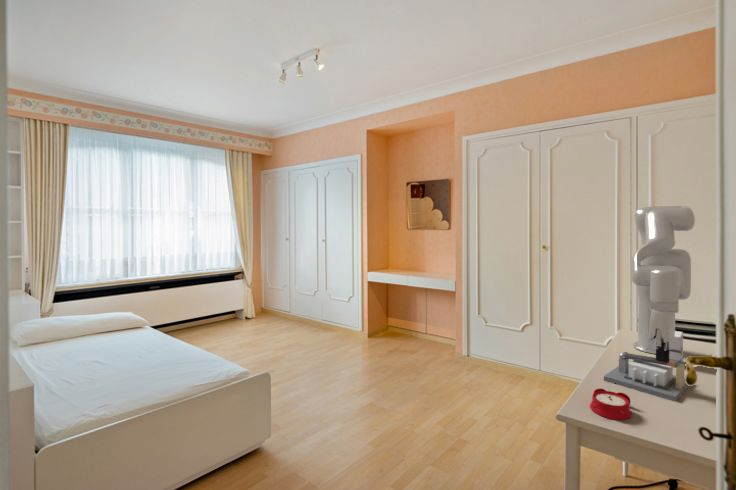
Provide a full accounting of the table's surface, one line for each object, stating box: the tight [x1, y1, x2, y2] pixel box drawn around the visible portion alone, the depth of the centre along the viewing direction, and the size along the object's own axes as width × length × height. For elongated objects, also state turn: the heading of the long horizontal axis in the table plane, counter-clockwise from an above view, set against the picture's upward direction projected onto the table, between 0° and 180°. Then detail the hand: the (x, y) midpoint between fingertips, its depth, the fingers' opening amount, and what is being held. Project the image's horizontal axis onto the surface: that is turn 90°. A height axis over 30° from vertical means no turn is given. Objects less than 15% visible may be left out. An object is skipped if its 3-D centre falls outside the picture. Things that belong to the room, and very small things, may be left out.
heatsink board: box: [603, 357, 690, 402], centre depth 130 cm, size 18×20×8 cm
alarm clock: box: [589, 387, 632, 421], centre depth 114 cm, size 10×6×15 cm
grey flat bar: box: [619, 351, 678, 368], centre depth 130 cm, size 16×4×2 cm, turn 37°
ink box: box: [667, 330, 684, 368], centre depth 145 cm, size 9×5×12 cm, turn 135°
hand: (662, 360), depth 125 cm, fingers closed
